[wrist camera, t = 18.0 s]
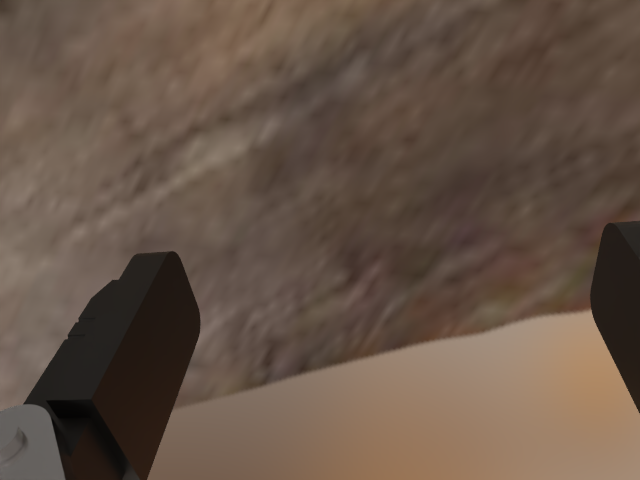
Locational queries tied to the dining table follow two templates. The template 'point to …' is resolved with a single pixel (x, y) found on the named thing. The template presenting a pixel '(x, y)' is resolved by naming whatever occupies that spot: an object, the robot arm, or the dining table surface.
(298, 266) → the dining table surface
